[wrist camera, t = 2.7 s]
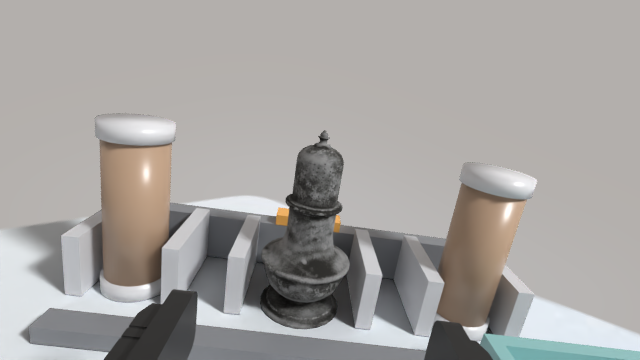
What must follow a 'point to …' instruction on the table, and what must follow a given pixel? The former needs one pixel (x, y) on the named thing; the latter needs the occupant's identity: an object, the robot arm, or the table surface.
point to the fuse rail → (242, 253)
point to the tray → (548, 350)
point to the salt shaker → (307, 244)
